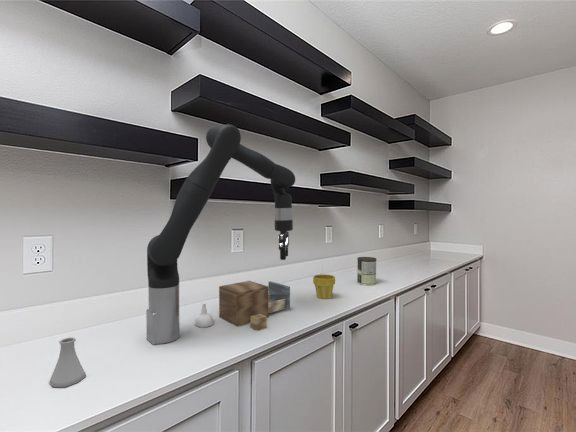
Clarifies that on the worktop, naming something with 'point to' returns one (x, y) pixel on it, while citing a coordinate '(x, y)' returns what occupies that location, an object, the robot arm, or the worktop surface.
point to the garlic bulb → (204, 318)
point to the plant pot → (324, 285)
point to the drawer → (278, 296)
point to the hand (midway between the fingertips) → (284, 257)
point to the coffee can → (366, 271)
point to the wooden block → (258, 322)
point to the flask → (67, 365)
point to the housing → (242, 302)
